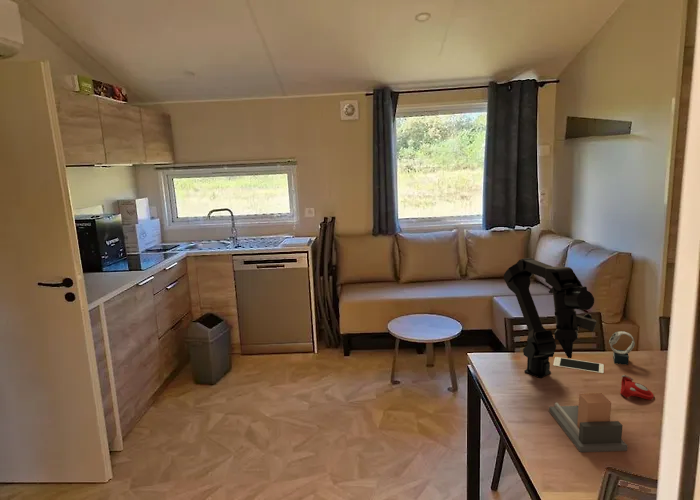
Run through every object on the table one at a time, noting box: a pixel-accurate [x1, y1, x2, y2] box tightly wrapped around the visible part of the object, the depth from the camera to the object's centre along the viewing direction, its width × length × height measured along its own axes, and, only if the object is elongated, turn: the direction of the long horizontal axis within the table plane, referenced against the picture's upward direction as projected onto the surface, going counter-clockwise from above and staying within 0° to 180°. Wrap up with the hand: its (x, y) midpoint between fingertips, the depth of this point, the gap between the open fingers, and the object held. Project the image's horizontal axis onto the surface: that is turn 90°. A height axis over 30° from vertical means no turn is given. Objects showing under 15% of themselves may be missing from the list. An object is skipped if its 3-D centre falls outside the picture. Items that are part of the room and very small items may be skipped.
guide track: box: [548, 402, 628, 453], centre depth 133 cm, size 20×12×6 cm, turn 0°
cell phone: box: [552, 356, 605, 374], centre depth 173 cm, size 8×16×1 cm, turn 62°
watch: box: [608, 330, 636, 366], centre depth 173 cm, size 6×8×11 cm
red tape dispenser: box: [619, 374, 655, 401], centre depth 152 cm, size 12×4×10 cm
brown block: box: [577, 392, 612, 428], centre depth 129 cm, size 5×6×10 cm
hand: (569, 357), depth 150 cm, fingers closed
